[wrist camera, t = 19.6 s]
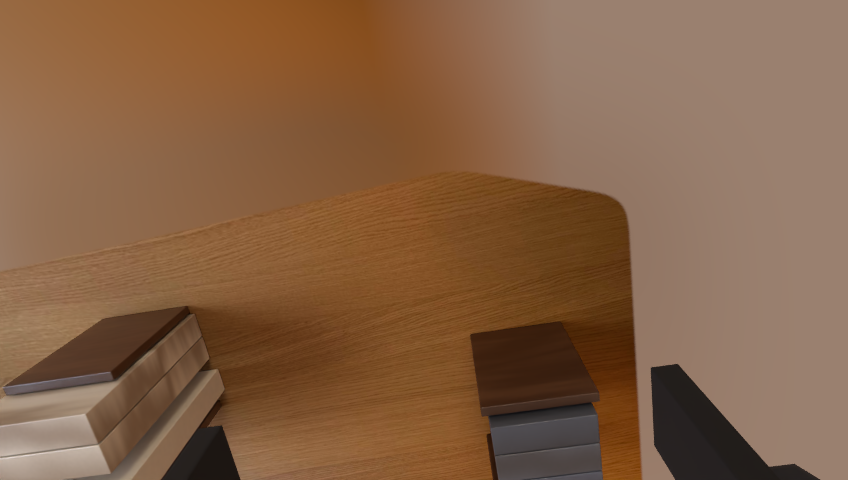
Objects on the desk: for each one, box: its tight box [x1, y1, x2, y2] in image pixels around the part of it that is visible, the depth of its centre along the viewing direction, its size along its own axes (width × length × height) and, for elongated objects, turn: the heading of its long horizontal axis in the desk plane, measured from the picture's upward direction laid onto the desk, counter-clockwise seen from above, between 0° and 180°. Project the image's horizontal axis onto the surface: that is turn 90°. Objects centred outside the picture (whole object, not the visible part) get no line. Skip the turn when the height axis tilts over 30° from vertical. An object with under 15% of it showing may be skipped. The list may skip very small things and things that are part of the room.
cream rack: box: [0, 306, 221, 480], centre depth 43 cm, size 12×10×16 cm
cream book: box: [65, 369, 225, 480], centre depth 44 cm, size 2×11×16 cm, turn 100°
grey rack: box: [470, 322, 603, 480], centre depth 44 cm, size 13×9×13 cm
